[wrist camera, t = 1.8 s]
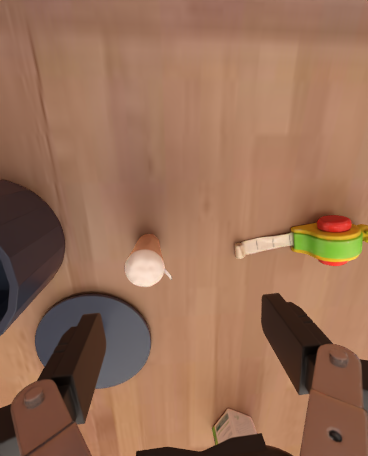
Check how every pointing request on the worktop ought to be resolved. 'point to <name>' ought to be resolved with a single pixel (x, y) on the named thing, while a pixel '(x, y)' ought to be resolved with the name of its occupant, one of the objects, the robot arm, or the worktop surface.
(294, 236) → the toy measuring tape
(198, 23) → the worktop surface
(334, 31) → the worktop surface
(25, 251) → the tin
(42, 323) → the tin lid
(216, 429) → the syrup box
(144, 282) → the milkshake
